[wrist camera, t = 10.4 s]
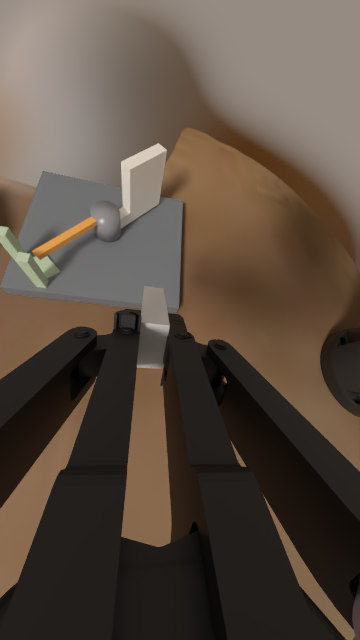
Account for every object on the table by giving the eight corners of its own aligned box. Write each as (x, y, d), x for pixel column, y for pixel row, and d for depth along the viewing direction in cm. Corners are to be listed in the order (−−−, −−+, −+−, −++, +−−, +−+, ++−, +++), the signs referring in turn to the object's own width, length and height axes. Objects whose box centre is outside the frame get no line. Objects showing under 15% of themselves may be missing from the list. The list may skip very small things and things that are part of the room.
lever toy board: (180, 209, 42) (191, 169, 35) (176, 313, 35) (188, 289, 27) (47, 182, 38) (27, 129, 31) (7, 294, 30) (-32, 259, 23)
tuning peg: (147, 194, 39) (152, 138, 30) (163, 208, 38) (173, 155, 30) (36, 261, 30) (0, 209, 22) (56, 280, 30) (27, 234, 21)
